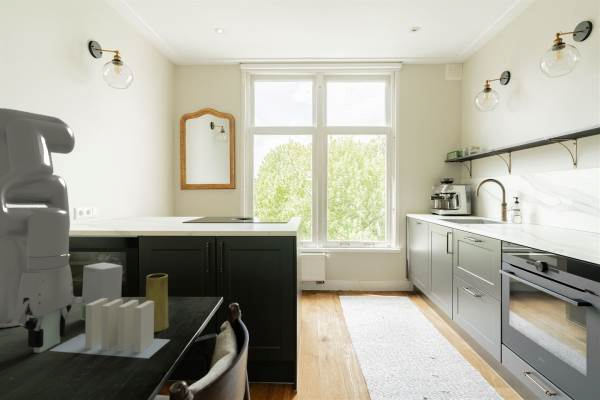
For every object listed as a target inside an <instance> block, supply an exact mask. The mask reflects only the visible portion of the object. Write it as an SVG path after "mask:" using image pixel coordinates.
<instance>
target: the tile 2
mask: <svg viewBox="0 0 600 400" xmlns="http://www.w3.org/2000/svg"><path fill="white" fill-rule="evenodd" d="M107 303H108V298H101V299H99V300H97V301H94V302H92V303H89V304H87V305H86V321H85V331H84V332H85V333H84V334H85V349H93V348H94V347H96V346H98V345H99V344H101V330H102V306H103V305H105V304H107Z"/></svg>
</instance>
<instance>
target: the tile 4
mask: <svg viewBox="0 0 600 400" xmlns="http://www.w3.org/2000/svg"><path fill="white" fill-rule="evenodd" d="M139 301H140V300H139V299H131V300H129V301H128V302H125V303H123V305H121V306H119V307H118V347H117V351H125V350H127V349H128V348H130V347H131V346H132V345H134V308H135V307H137V306H139V305H140V304H139Z"/></svg>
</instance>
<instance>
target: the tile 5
mask: <svg viewBox="0 0 600 400" xmlns="http://www.w3.org/2000/svg"><path fill="white" fill-rule="evenodd" d="M154 334H155V332H154V301H146V300H145V302H143V303H141V304H139V306H137V307H135V308H134V352H137V353H141V352H142V351H143V350H145V349H146V348H147V347H149V346H150V345H151V344H152V343H154V339H155V338H154V337H155V335H154Z"/></svg>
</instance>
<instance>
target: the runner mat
mask: <svg viewBox="0 0 600 400" xmlns="http://www.w3.org/2000/svg"><path fill="white" fill-rule="evenodd" d="M170 341H171V339H165V338H163V339H162V338H154V343H152V344H151V345H150V346H149V347H147V348H146V349H145V350H143V351H142V352H141V353H137V352H134V345H132V346H131V347H130V348H128V349H127V350H125V351H117V347H118V344H117V345H115V346H113V347H112V348H110V349H109V350H101V344H99V345H98V346H96V347H94V348H93V349H85V333H80V334H78V335H77V336H75V337H73V338H72V337H71V338H70V339H69V340H66V341H65V342H63V343H61V344H58V345H57V346H55V347H54V348H53V347H52V348H50V349H49V351H50V352H60V353H72V354H73V353H74V354H84V355H86V354H87V355H98V356H99V355H101V356H112V357H113V356H114V357H123V358H137V359H150V358H151V357H152V356H153V355H154V354H156V353H157V352H158V351H159V350H161V349H162V347H164V346H165V345H166V344H168V343H169V342H170Z"/></svg>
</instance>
